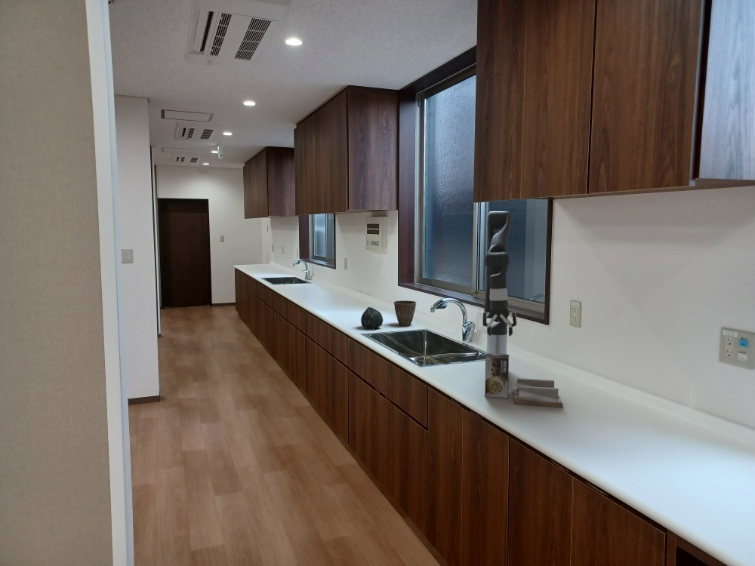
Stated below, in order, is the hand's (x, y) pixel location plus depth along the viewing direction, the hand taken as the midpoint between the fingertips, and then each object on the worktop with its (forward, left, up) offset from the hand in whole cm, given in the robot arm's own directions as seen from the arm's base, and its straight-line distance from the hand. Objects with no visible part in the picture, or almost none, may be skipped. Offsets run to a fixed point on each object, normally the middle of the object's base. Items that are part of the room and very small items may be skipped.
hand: (500, 335), depth 226 cm
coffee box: (+22, -2, -20) cm, 30 cm away
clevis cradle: (+25, +13, -20) cm, 34 cm away
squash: (-102, -78, -20) cm, 130 cm away
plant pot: (-115, -58, -20) cm, 130 cm away
